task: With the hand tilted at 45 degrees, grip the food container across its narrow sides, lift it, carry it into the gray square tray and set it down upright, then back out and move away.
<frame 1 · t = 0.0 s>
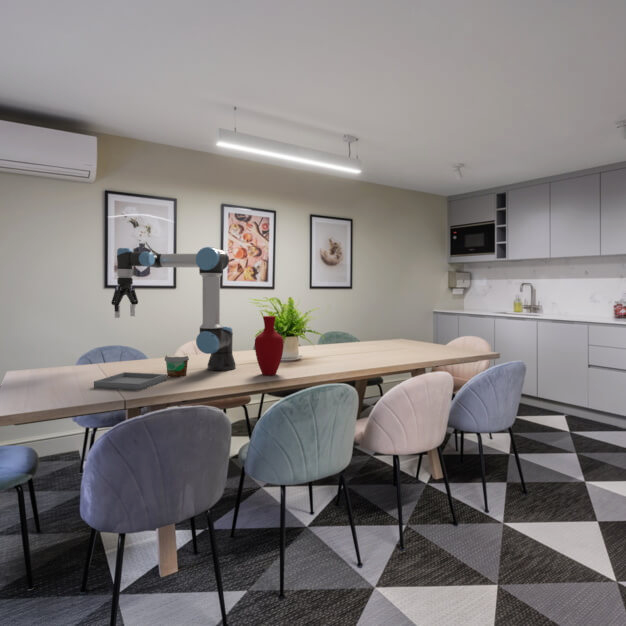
hand: (125, 317, 237), 28 cm above the table, tool pointing down, fingers open, 13 cm apart
food container: (174, 376, 220), on the table
vase: (269, 374, 228), on the table
gray square tray: (131, 384, 201), on the table
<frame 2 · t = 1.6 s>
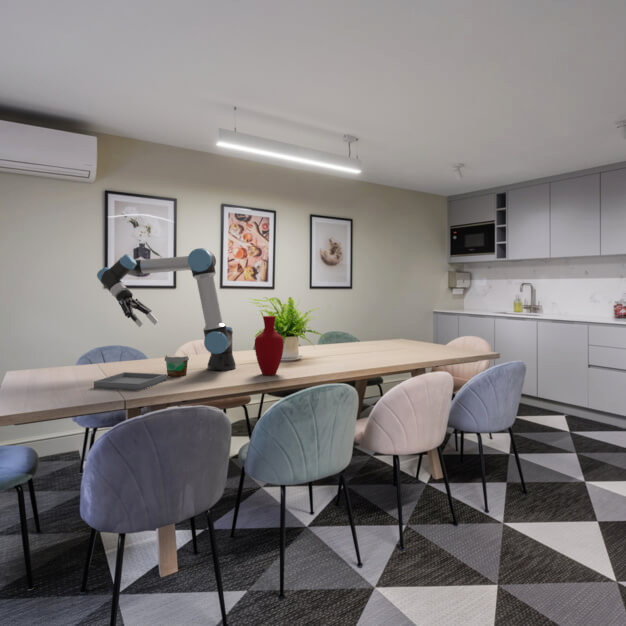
hand: (149, 324, 221), 26 cm above the table, tool tilted 45°, fingers open, 13 cm apart
nothing on the table moved.
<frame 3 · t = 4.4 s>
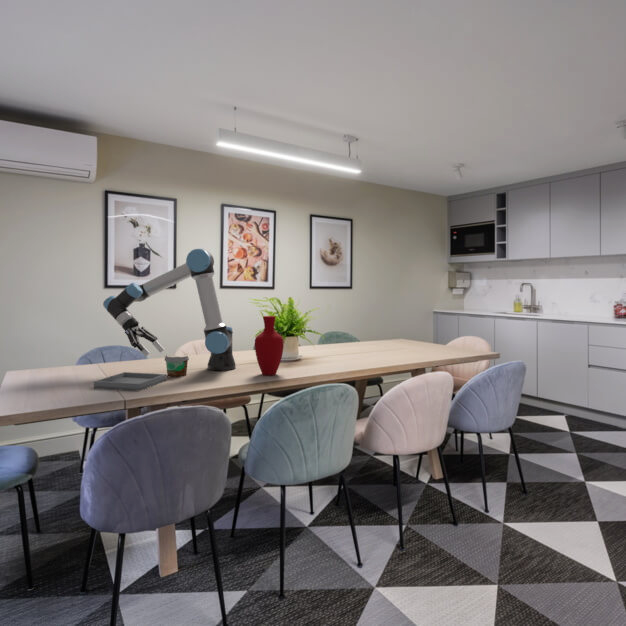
hand: (155, 352, 221), 11 cm above the table, tool tilted 45°, fingers open, 13 cm apart
nothing on the table moved.
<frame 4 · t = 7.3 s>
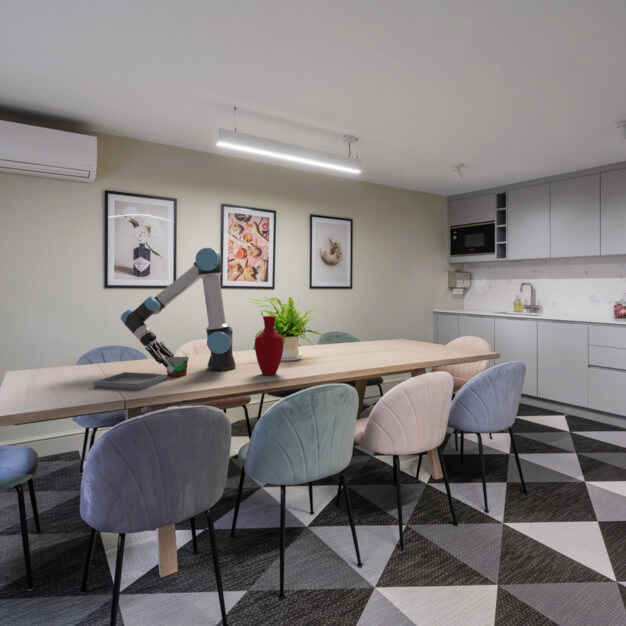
hand: (175, 369, 220), 3 cm above the table, tool tilted 45°, fingers closed on food container, 6 cm apart
food container: (174, 376, 220), on the table, touching gripper
everything else where it was.
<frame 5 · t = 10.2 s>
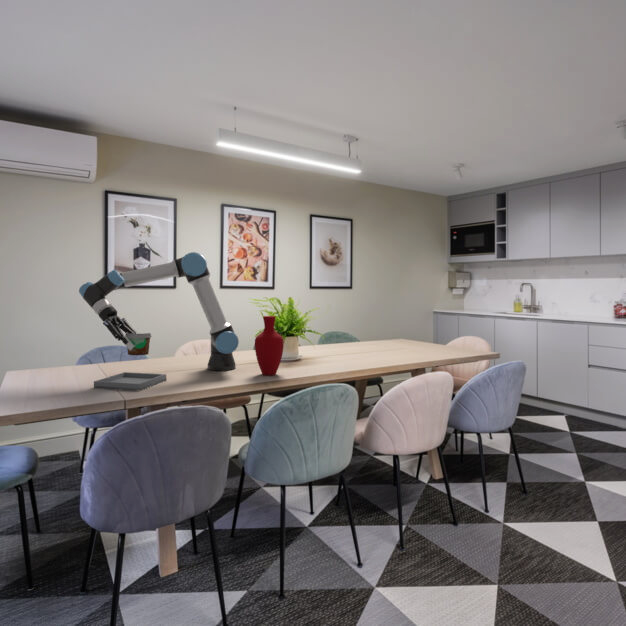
hand: (136, 347, 203), 16 cm above the table, tool tilted 45°, fingers closed on food container, 6 cm apart
food container: (135, 355, 204), point 13 cm above the table, touching gripper
everything else where it was.
when the fingers open (5 cm above the table, at t = 13.2 s): food container stays where it is, resting on gray square tray.
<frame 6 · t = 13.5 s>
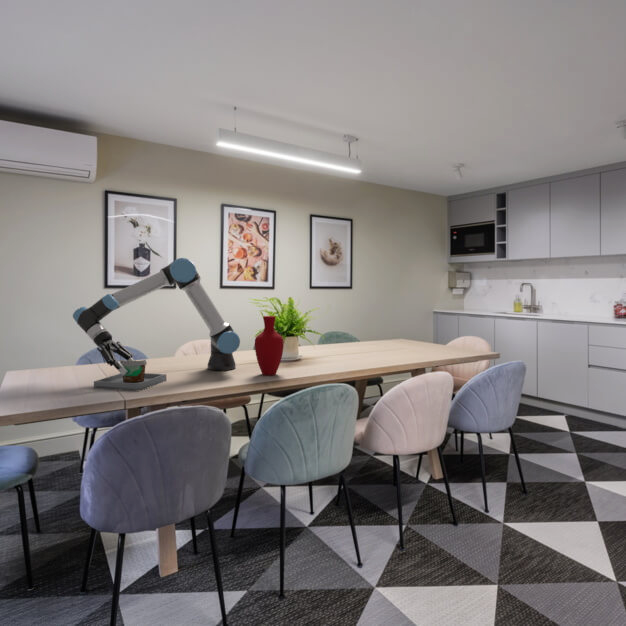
hand: (131, 371, 201), 6 cm above the table, tool tilted 45°, fingers open, 9 cm apart
food container: (130, 382, 201), point 1 cm above the table, touching gray square tray
everything else where it was.
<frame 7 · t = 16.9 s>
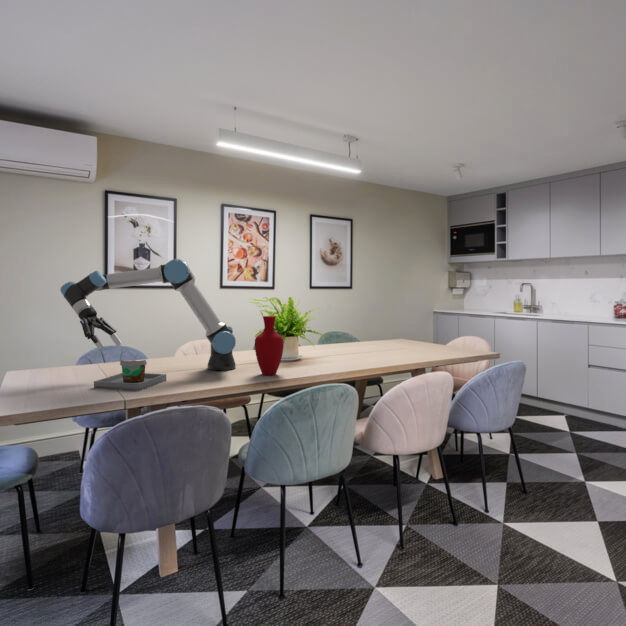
hand: (111, 346, 206), 16 cm above the table, tool tilted 40°, fingers open, 13 cm apart
nothing on the table moved.
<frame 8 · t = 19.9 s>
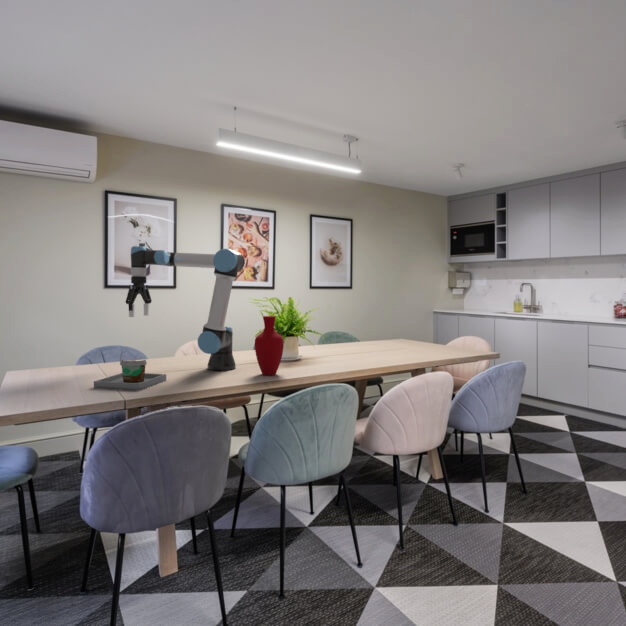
hand: (139, 316, 234), 29 cm above the table, tool pointing down, fingers open, 13 cm apart
nothing on the table moved.
at the end: food container inside the target area on the gray square tray (0.4 cm from its centre), point 0.8 cm above the gray square tray's base; food container tilted 0°; the gripper is holding nothing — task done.
